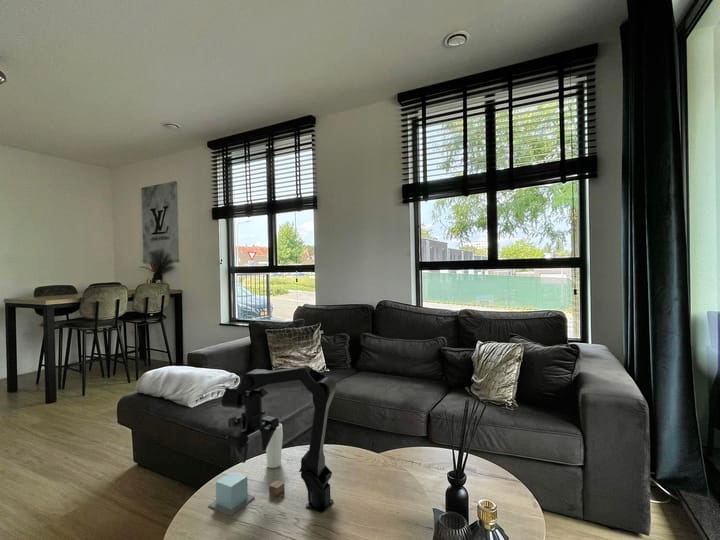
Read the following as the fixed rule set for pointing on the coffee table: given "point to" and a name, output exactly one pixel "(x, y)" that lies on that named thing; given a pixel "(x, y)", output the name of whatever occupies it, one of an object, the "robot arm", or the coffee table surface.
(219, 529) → the coffee table surface
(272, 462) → the white tall cylinder
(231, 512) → the gray square plate
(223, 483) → the pale blue cube
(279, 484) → the walnut block
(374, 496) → the coffee table surface
